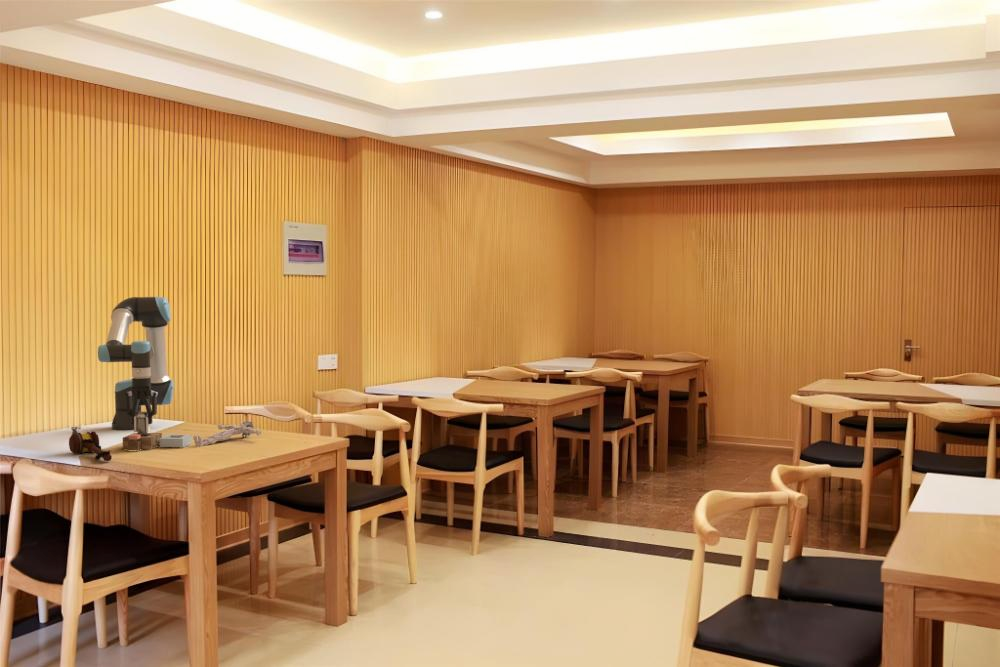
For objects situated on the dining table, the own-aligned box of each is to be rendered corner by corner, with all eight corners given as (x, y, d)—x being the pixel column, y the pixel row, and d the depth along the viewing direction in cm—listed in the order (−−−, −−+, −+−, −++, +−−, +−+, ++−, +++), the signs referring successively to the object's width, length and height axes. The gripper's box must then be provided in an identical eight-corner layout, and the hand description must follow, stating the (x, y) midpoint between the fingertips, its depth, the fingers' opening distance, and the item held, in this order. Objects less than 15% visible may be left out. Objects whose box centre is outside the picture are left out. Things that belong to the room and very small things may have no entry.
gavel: (121, 467, 353) (95, 470, 346) (91, 448, 378) (65, 451, 371) (122, 442, 352) (95, 445, 345) (91, 425, 377) (66, 427, 370)
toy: (176, 433, 392) (231, 414, 416) (179, 451, 394) (234, 431, 418) (217, 439, 376) (271, 419, 401) (220, 458, 378) (274, 437, 402)
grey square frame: (168, 443, 390) (168, 434, 390) (191, 443, 390) (191, 434, 390) (159, 447, 380) (159, 438, 380) (183, 447, 380) (182, 438, 380)
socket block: (134, 444, 388) (134, 432, 388) (162, 444, 388) (161, 433, 388) (118, 451, 372) (118, 439, 372) (147, 451, 372) (147, 439, 372)
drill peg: (139, 445, 385) (139, 411, 384) (149, 446, 385) (149, 411, 384) (135, 447, 380) (134, 412, 379) (145, 447, 380) (145, 413, 379)
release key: (132, 447, 376) (132, 434, 376) (140, 447, 376) (140, 434, 376) (129, 448, 373) (128, 435, 372) (137, 448, 373) (137, 435, 372)
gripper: (117, 378, 377) (118, 433, 378) (158, 378, 377) (159, 433, 378) (124, 376, 384) (125, 430, 386) (165, 376, 384) (166, 430, 386)
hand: (142, 431), depth 382 cm, fingers closed on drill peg, 4 cm apart
